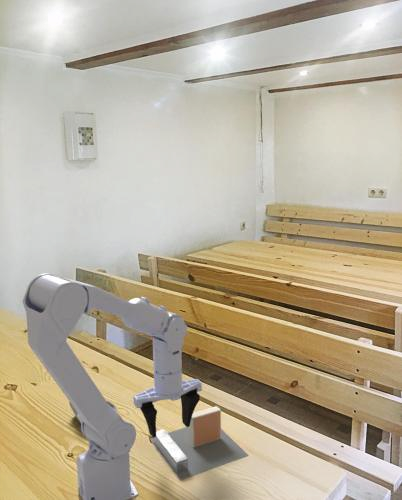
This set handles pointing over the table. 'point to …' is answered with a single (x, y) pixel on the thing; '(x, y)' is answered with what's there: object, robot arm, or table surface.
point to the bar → (171, 451)
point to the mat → (204, 452)
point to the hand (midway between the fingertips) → (169, 429)
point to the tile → (205, 426)
